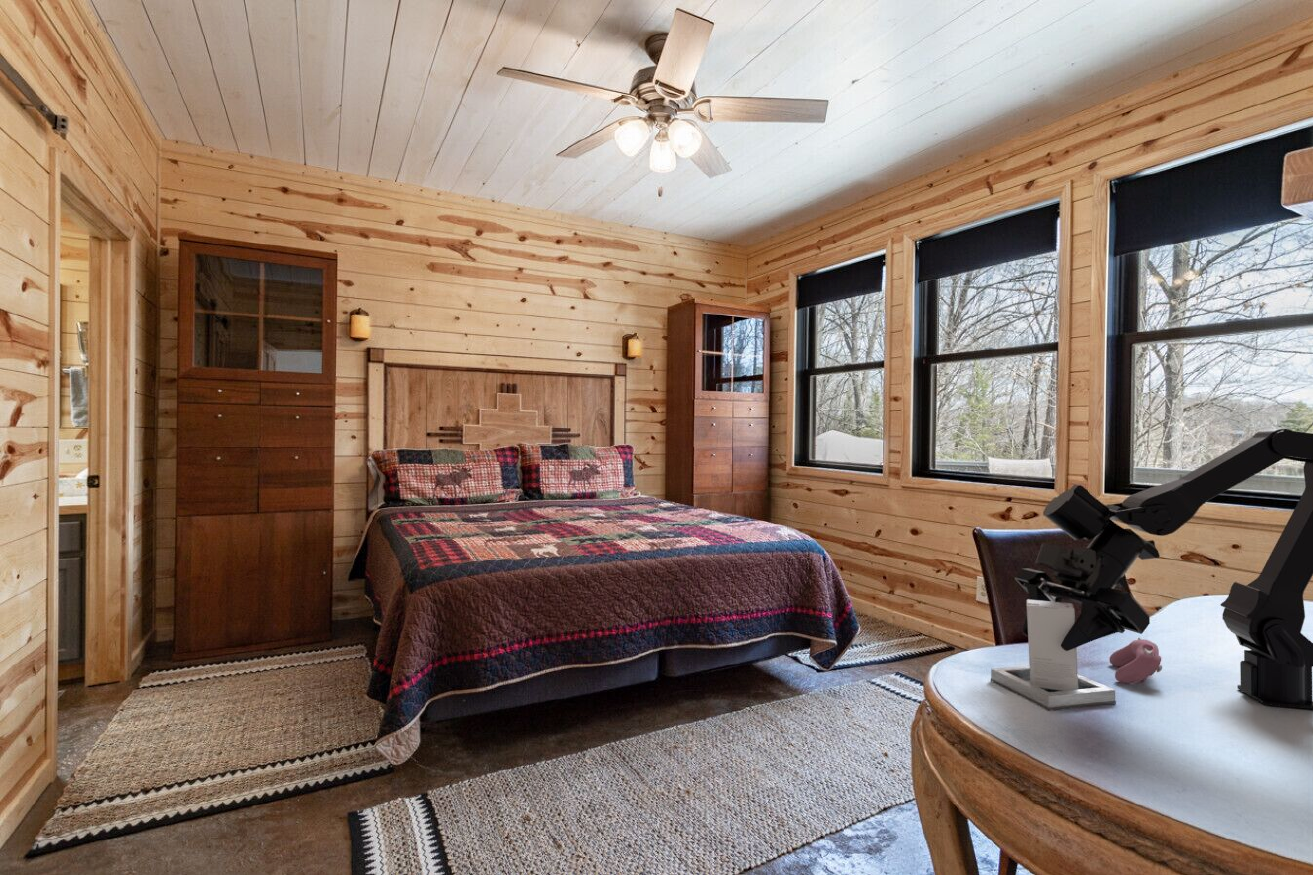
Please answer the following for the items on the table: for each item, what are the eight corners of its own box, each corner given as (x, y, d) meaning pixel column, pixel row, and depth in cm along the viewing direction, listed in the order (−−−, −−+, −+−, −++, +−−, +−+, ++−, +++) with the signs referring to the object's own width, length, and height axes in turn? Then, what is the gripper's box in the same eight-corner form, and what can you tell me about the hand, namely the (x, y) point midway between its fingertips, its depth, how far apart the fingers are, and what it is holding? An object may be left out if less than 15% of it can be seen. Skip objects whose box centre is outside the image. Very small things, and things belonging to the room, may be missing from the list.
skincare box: (1076, 684, 93) (1074, 601, 94) (1079, 695, 89) (1077, 608, 90) (1028, 677, 96) (1026, 597, 97) (1028, 687, 93) (1026, 604, 93)
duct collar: (1052, 675, 100) (1051, 663, 100) (1116, 703, 89) (1115, 689, 89) (990, 680, 97) (990, 668, 97) (1048, 710, 87) (1048, 696, 87)
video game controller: (1146, 698, 94) (1172, 660, 93) (1112, 679, 97) (1137, 641, 95) (1136, 677, 103) (1161, 641, 101) (1106, 660, 105) (1129, 625, 104)
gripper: (1023, 517, 103) (964, 590, 101) (1130, 533, 85) (1061, 622, 83) (1065, 563, 105) (1008, 636, 102) (1179, 588, 86) (1113, 677, 84)
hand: (1043, 641), depth 93 cm, fingers closed on skincare box, 7 cm apart
